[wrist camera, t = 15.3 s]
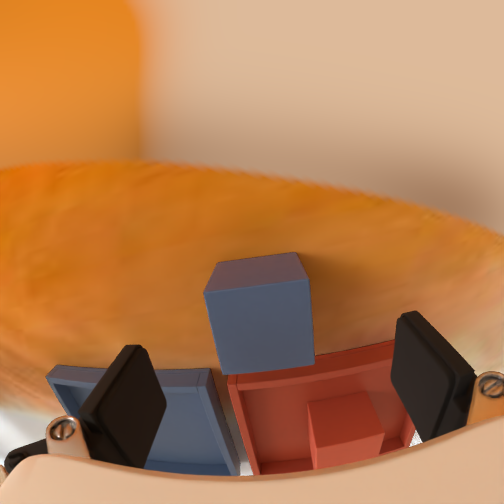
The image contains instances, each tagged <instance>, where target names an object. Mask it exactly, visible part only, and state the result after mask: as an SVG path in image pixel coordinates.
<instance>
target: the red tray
mask: <svg viewBox="0 0 504 504" xmlns="http://www.w3.org/2000/svg"><path fill="white" fill-rule="evenodd" d="M394 344H395V340H391V341H387V342H383V343H378V344H374V345H370V346H365V347H360V348H356V349H351V350H346V351H341V352H335V353H330V354H324V355H318V356H315V364H314V365H308V366H302V367H295V368H288V369H280V370H272V371H263V372H254V373H243V374H231V375H228V382H227V386H228V390H229V394H230V398H231V401H232V405H233V409H234V412H235V416H236V419H237V423H238V426H239V429H240V433H241V436H242V440H243V443H244V446H245V449H246V453H247V456H248V459H249V462H250V465H251V469H252V472H253V475H271V474H283V473H293V472H302V471H309V470H314V468H313V462H312V456H311V450H310V444H309V438H308V412H307V403H308V402H313V401H319V400H325V399H330V398H336V397H341V396H345V395H350V394H355V393H359V392H363V391H367V393H368V396H369V398H370V400H371V402H372V404H373V407H374V409H375V411H376V413H377V416H378V418H379V420H380V423H381V425H382V427H383V429H384V432H385V435H384V438H383V442H382V445H381V449H380V452H379V455H378V456H382V455H385V454H389V453H392V452H396V451H399V450H402V449H405V448H408V447H409V446H410V443H411V440H412V438H413V435H414V433H415V430H416V428H415V426H414V424H413V422H412V420H411V418H410V416H409V415H408V413H407V411H406V409H405V407H404V405H403V403H402V401H401V399H400V398H399V396H398V394H397V392H396V390H395V388H394V386H393V385H392V382H391V378H390V374H391V367H392V360H393V352H394Z"/></svg>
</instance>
